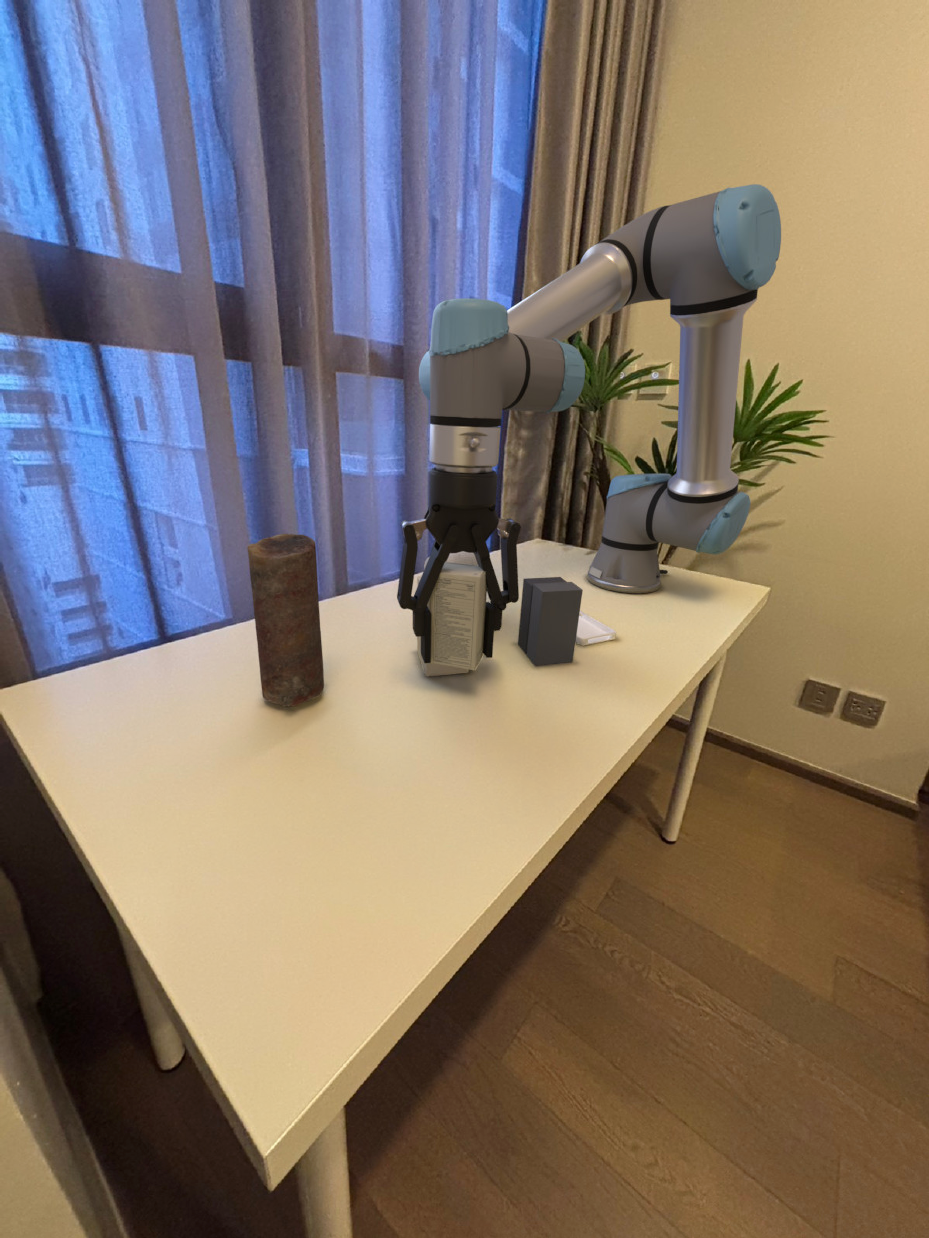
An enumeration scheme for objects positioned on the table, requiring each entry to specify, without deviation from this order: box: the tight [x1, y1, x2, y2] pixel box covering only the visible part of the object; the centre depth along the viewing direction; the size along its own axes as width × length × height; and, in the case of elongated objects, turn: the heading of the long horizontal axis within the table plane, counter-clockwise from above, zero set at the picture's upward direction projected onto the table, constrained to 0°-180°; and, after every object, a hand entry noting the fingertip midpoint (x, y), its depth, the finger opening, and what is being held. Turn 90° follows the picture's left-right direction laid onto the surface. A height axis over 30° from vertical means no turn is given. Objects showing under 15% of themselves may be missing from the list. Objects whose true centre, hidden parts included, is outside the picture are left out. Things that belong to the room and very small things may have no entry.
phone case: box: [575, 610, 617, 646], centre depth 87 cm, size 7×1×15 cm
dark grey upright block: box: [517, 576, 584, 667], centre depth 75 cm, size 6×7×12 cm
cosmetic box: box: [430, 562, 488, 671], centre depth 62 cm, size 6×4×12 cm
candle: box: [246, 533, 325, 708], centre depth 59 cm, size 8×7×20 cm
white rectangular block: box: [416, 576, 469, 677], centre depth 71 cm, size 6×7×12 cm
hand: (456, 655), depth 64 cm, fingers closed on cosmetic box, 7 cm apart
